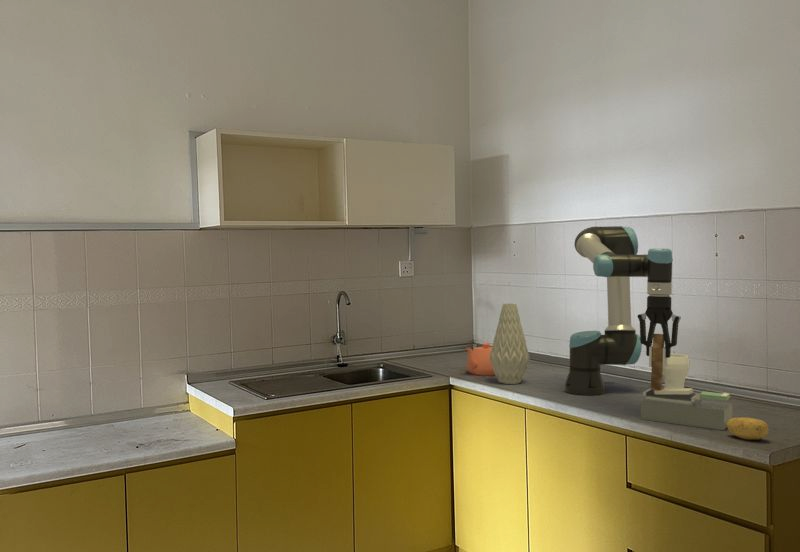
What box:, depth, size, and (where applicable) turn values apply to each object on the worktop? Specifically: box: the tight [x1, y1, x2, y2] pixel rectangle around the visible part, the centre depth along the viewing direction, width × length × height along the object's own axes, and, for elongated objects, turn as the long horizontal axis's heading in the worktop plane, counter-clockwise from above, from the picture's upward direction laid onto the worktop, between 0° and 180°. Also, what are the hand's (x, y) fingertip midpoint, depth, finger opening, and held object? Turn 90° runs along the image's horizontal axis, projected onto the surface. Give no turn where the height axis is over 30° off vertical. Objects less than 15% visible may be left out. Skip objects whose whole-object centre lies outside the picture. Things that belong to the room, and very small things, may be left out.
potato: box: [726, 417, 770, 441], centre depth 206 cm, size 7×11×6 cm, turn 41°
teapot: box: [465, 342, 495, 377], centre depth 318 cm, size 25×17×13 cm
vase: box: [489, 303, 531, 385], centre depth 295 cm, size 17×17×33 cm
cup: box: [662, 353, 691, 389], centre depth 270 cm, size 11×11×15 cm
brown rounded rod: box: [650, 333, 665, 390], centre depth 233 cm, size 3×3×18 cm
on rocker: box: [699, 390, 731, 402], centre depth 224 cm, size 8×5×1 cm, turn 55°
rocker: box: [654, 387, 694, 394], centre depth 231 cm, size 11×4×1 cm, turn 55°
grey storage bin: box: [640, 387, 733, 431], centre depth 229 cm, size 25×13×8 cm, turn 55°
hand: (658, 366), depth 233 cm, fingers closed on brown rounded rod, 4 cm apart
